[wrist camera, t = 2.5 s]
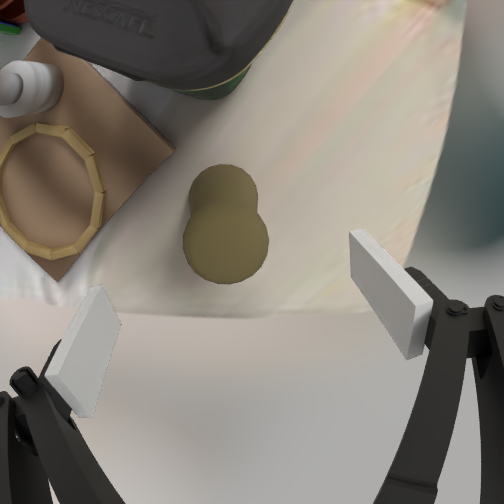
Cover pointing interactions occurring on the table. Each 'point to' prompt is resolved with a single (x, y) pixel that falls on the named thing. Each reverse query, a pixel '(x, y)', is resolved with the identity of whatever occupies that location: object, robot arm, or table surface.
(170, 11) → the coffee jar
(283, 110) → the table surface
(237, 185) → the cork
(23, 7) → the motor
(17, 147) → the carrier board
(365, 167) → the table surface
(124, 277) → the table surface
